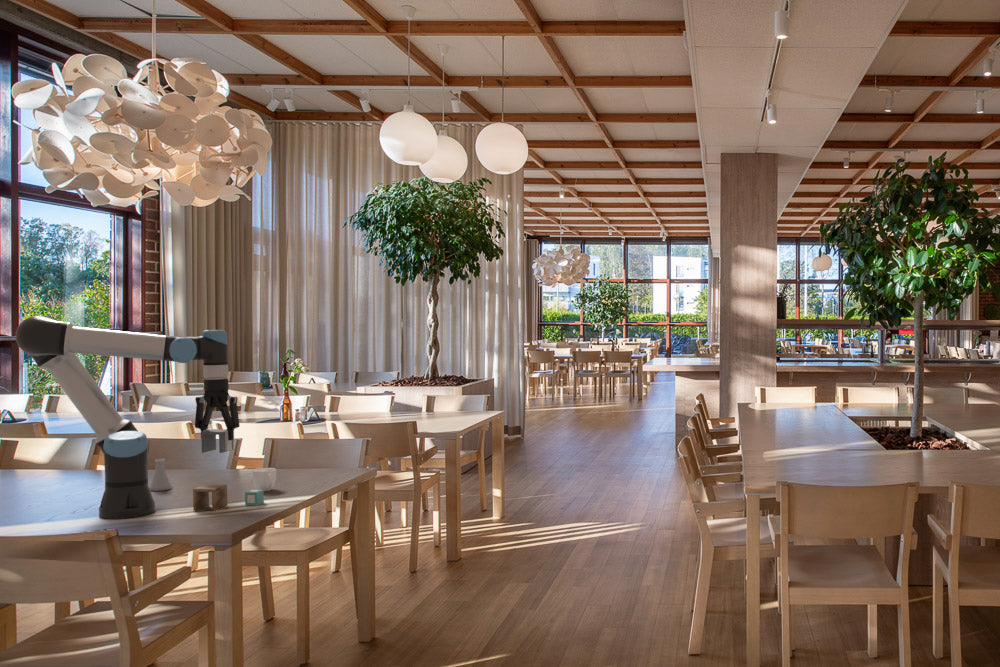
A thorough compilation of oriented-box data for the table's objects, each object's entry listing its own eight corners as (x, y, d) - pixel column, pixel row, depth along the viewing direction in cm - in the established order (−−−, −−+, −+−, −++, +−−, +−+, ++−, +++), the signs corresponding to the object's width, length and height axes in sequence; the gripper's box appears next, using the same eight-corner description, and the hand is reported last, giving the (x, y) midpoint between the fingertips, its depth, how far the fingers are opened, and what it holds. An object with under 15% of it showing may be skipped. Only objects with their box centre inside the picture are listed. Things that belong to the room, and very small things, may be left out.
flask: (164, 491, 288) (163, 461, 288) (144, 491, 289) (143, 461, 289) (176, 487, 295) (175, 458, 295) (157, 487, 296) (156, 457, 296)
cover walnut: (214, 511, 256) (214, 489, 256) (193, 510, 257) (193, 488, 257) (227, 506, 263) (227, 484, 263) (206, 505, 264) (206, 484, 264)
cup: (271, 486, 293) (271, 466, 293) (282, 491, 285) (282, 470, 285) (248, 489, 288) (248, 469, 288) (259, 494, 280) (259, 473, 280)
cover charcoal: (221, 452, 273) (221, 432, 273) (201, 452, 274) (201, 431, 274) (233, 449, 280) (233, 429, 280) (213, 449, 281) (213, 429, 281)
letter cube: (257, 505, 263) (256, 492, 263) (245, 505, 264) (244, 491, 264) (263, 503, 267) (263, 489, 267) (251, 502, 268) (251, 489, 268)
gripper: (250, 377, 278) (252, 449, 278) (194, 377, 283) (196, 448, 283) (238, 379, 271) (239, 452, 271) (181, 379, 275) (182, 451, 276)
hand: (217, 450), depth 277 cm, fingers closed on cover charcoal, 7 cm apart
